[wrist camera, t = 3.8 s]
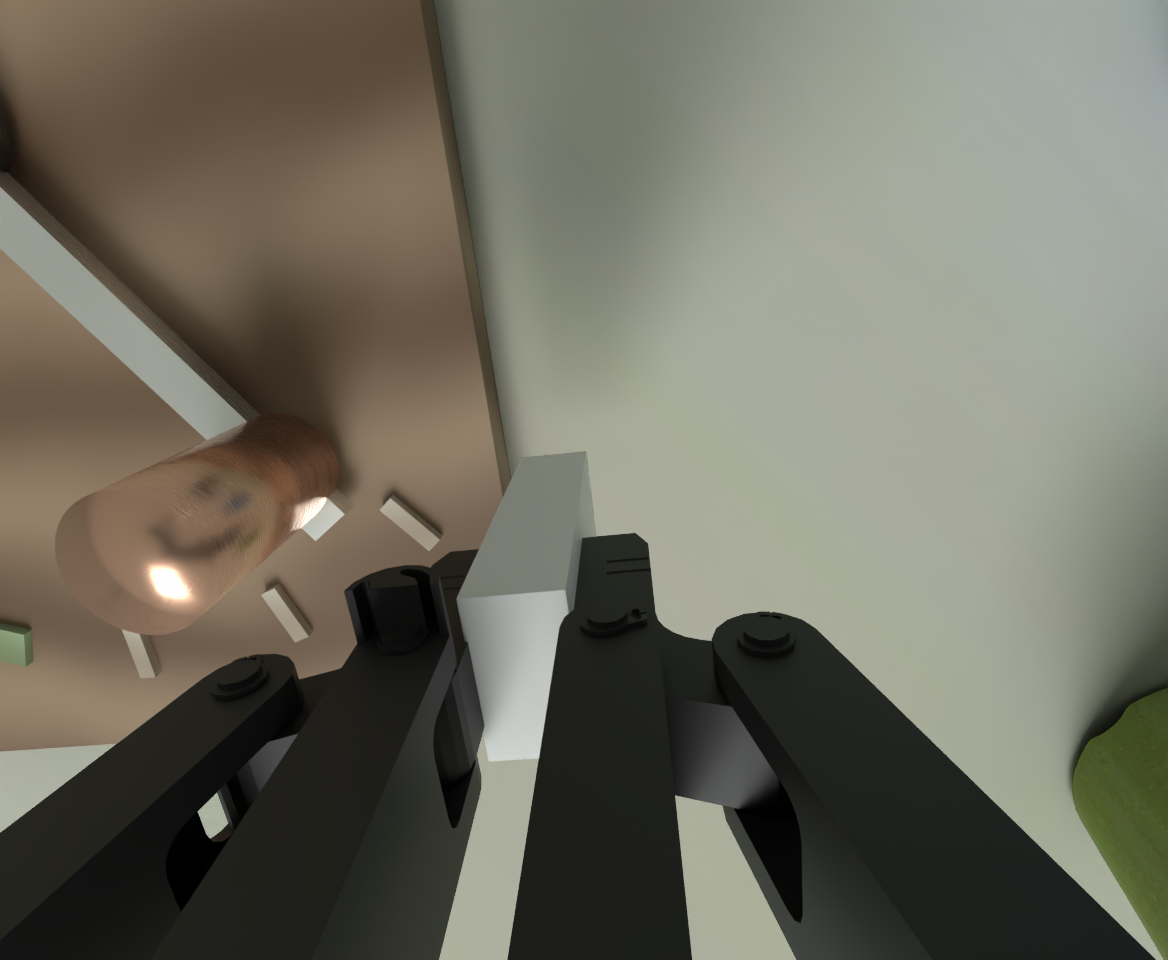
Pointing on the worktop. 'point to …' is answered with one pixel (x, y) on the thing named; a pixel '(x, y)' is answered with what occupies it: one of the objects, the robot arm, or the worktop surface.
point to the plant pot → (1131, 807)
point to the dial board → (236, 318)
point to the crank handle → (183, 481)
